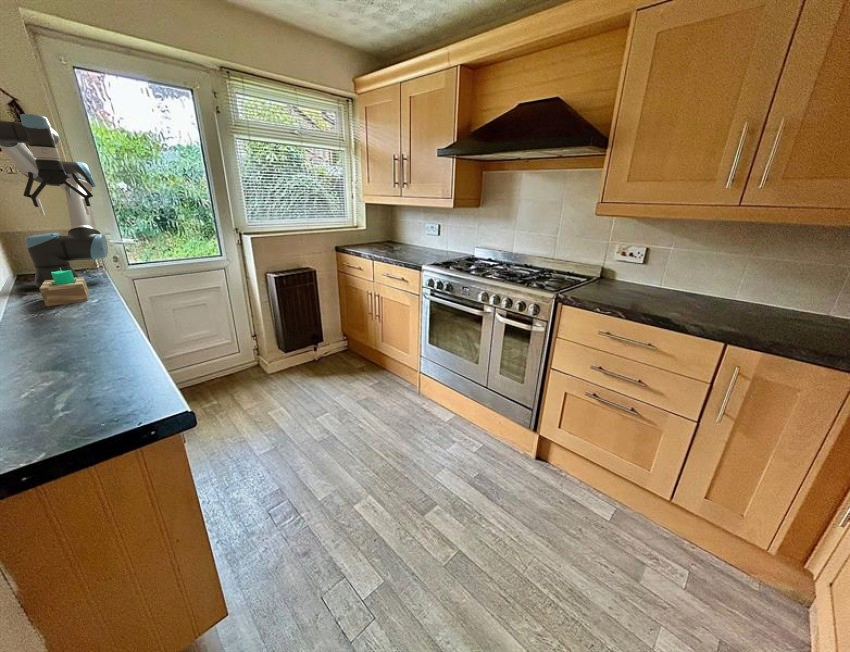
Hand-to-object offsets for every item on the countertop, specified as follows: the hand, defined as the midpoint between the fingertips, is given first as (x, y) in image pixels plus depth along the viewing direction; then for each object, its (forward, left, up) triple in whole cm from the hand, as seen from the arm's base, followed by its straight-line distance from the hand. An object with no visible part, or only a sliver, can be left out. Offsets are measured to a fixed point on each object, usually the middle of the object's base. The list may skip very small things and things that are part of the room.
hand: (66, 215), depth 147 cm
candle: (+14, -6, -32) cm, 35 cm away
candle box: (+14, -7, -32) cm, 36 cm away
